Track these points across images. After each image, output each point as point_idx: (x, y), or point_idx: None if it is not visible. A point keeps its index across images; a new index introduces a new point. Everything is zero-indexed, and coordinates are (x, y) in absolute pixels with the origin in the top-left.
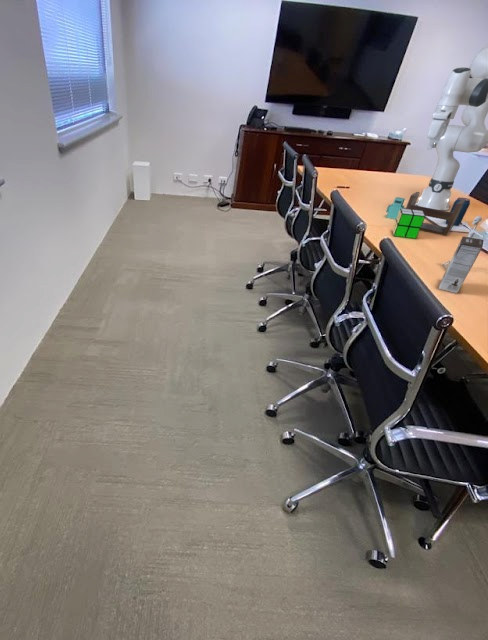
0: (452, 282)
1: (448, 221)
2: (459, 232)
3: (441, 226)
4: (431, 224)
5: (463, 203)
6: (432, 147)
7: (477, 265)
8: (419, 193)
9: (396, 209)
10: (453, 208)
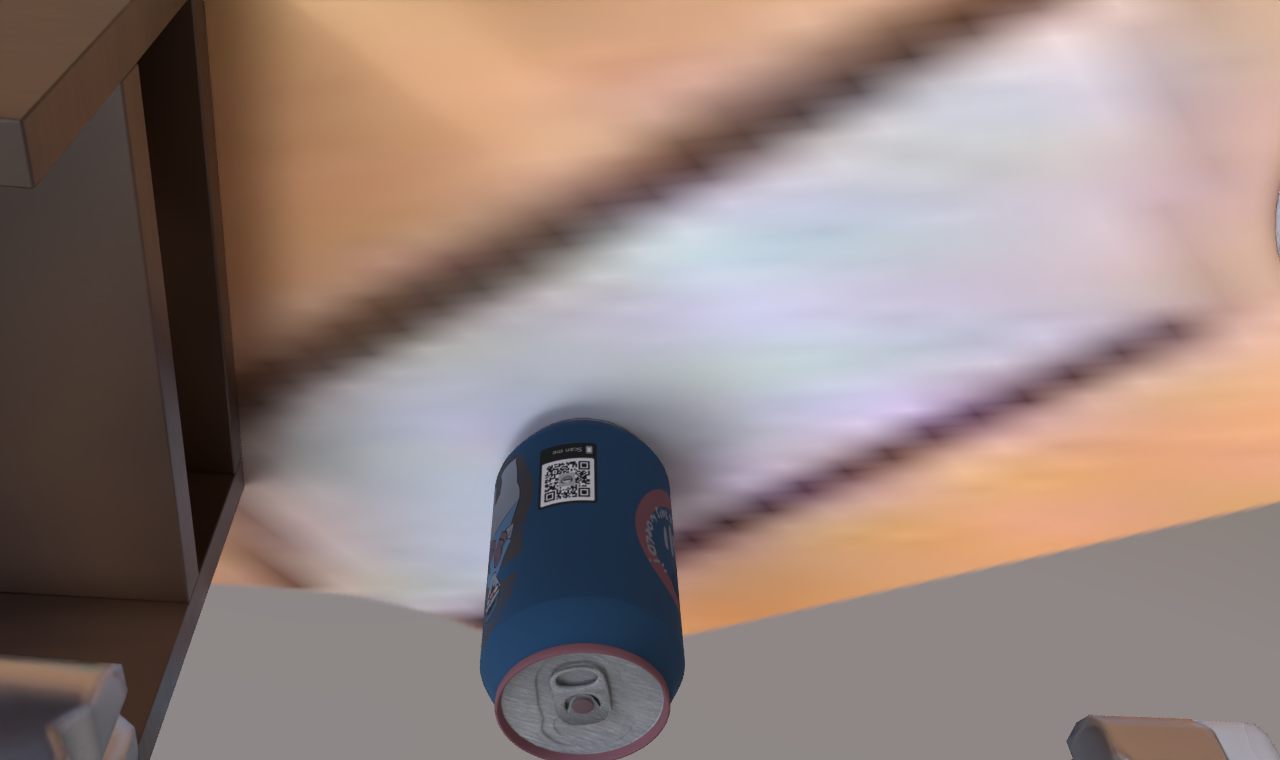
0: None
1: (511, 456)
2: (263, 554)
3: (211, 410)
4: (198, 304)
5: None
6: (1076, 740)
7: None
8: (27, 178)
9: None
10: (516, 558)
